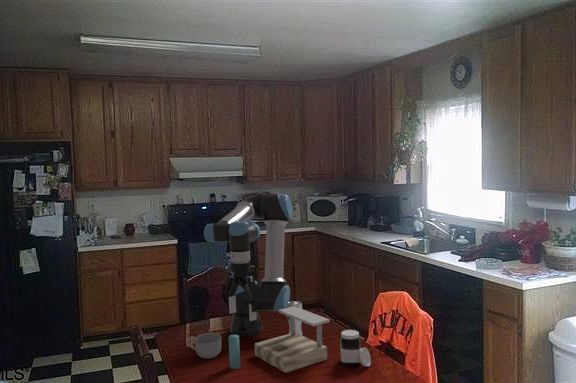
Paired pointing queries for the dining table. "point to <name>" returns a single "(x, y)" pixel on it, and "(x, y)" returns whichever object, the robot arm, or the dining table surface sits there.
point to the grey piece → (305, 320)
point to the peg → (234, 351)
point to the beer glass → (297, 322)
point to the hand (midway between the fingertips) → (242, 316)
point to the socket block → (290, 352)
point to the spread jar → (353, 349)
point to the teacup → (206, 345)
